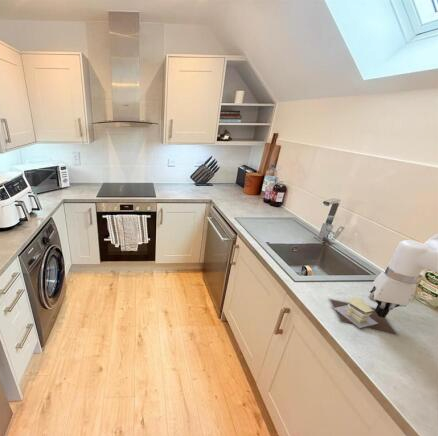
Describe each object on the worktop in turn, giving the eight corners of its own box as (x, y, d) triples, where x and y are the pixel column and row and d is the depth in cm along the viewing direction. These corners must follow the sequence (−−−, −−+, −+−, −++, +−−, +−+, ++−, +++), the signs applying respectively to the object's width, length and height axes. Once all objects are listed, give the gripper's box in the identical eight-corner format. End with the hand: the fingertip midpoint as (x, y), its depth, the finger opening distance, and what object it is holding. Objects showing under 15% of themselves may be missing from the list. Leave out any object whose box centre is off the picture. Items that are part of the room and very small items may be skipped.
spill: (378, 309, 94) (378, 309, 94) (395, 333, 83) (395, 333, 83) (330, 300, 99) (331, 299, 99) (341, 321, 88) (341, 321, 88)
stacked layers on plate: (378, 323, 87) (384, 312, 85) (359, 328, 85) (365, 316, 83) (351, 304, 96) (356, 293, 94) (333, 308, 94) (338, 297, 92)
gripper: (421, 272, 82) (399, 312, 89) (368, 264, 87) (351, 303, 94) (437, 286, 76) (411, 327, 83) (379, 276, 80) (360, 316, 87)
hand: (379, 314), depth 88 cm, fingers closed
